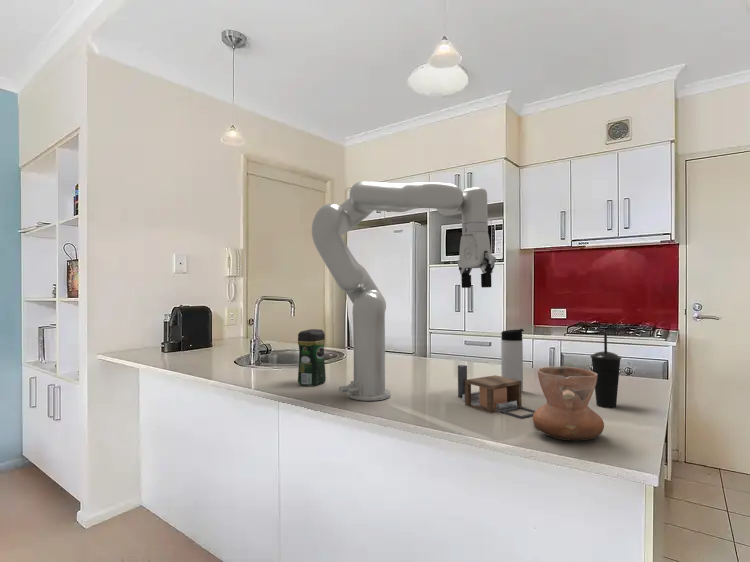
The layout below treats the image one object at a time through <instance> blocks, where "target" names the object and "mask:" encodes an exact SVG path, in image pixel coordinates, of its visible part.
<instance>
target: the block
mask: <svg viewBox="0 0 750 562" xmlns="http://www.w3.org/2000/svg"><path fill="white" fill-rule="evenodd" d="M478 387H479V405H483V406H486V407H487V388H484V387H480V386H478ZM502 402H507V387H500V388H495V389H493V409H495V408H496V404H497V403H502Z"/></svg>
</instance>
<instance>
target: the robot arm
mask: <svg viewBox="0 0 750 562" xmlns="http://www.w3.org/2000/svg"><path fill="white" fill-rule="evenodd" d="M414 209H434V210H435V209H436V211H437V212H438V213H439V214H441V215H442V216H445V217H446V216H447V217H449V216H455V215H460V214H461V231H462V232H461V234H462V235H461V236H460V243H459V252H458V253H459V257H458V258H459V259H458V260H457V266H458V270H459V272H460V275H461V278H460V279H461V288H462V289H466V288H467V289H468V288H469V289H471V288H472V274H470V273H471V272H472V270H473V269H480V271H481V272H482V273H481V274H480V283H481V285H480V286H481V288H492V274H493V272H494V271H493V270H494V268H495V264H496V263H495V262H496V261H497V260H496V259H497V258H496V256H495V255H493V254H492V251H491V244H490V243H491V242H490V235H489V221H488V219H489V218H488V212H489V211H488V192H487V190H486V189H485V188H482V187H469V188H466V189H463V190H462V189H461V188H460V186H457V185H456V184H453V183H445V182H432V181H431V182H430V181H429V182H409V183H396V182H394V183H393V182H379V181H364V180H363V181H358V182H355V183H354V184H353V185H352V186H351V188H350V191H349V198H348V199H346V200H344V202H343V203H341V204H340V205H338V204H336V203H326V204H324V205H323V206H321V207H320V208H319V209H318V210H317V212H316V214H315V215H314V218H313V220H312V224H311V235H312V240H313V244H314V247H315V248H316V250H317V252H318V254H319V256H320V257H321V258H322V261H323V262H324V264H325V266H326V267H327V269H328V271H329V272H330V274H331V275H332V277H333V279H334V281H335V282H336V284H337V286H338V288H339V289H340V290H342V291H344V292H345V294H346V295H347V297H348V298H349V300H350V302H351V304H352V328H353V329H352V331H353V380H352V381H351V380H350V382H349V384H348V385H340V386H339V387H338V391H339V393H340V394H342V393H347V394H348V397H349V398H350V399H352V400H355V401H365V402H369V401H370V402H373V401H382V400H386V399H389V398H390V397H391V391H390V390H388V389H386V325H385V324H386V321H385V320H386V309H387V303H386V300H385V297H384V296H383V294H382V292H381V290H379V288H378V286H377V284H376V283H375V282H374V280H373V279H372V277H371V275H370V274H369V272H368V271H367V269H366V268H365V267H364V266H363V265H362V264H360V263H359V262H358V261H357V260H356V258H355V256H354V255H353V254H352V252H351V250H350V249H349V247H348V244H347V243H346V242H345V241H344V239H343V237H342V235H345V234H347V233H348V232H350V231H351V230H352V229H353V228H355V227H356V226H357V225H358V224H360V223H361V222H363V220H365V219H366V218H367V217H369V216H370V214H372V213H373V212H375V211H379V212H390V213H392V212H393V213H406V212H408V211H412V210H414Z"/></svg>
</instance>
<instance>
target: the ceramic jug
mask: <svg viewBox="0 0 750 562" xmlns="http://www.w3.org/2000/svg"><path fill="white" fill-rule="evenodd" d="M537 376H538V381H539V385H540V388H541V390H542V393H543V396H544V397H545V400H546V403H544V404H543V405H541V406H540V407H538V408H536V410H535V412H534V414H533V416H532V422H533V424H534V426H535V428H537V429H538V431H540V432H541V433H542V434H544V435H546V436H549V437H551V438H555V439H558V440H563V441H571V442H572V441H587V440H591V439H594V438H596V437H597V438H598V436H600V435H601V434H602V433H603V431H604V429H605V423H604V420H603V418H602V417H601V416H600V415H599V414H598V413H597V412H596V411H594V410H592V409H591V407H589V406H588V405H589V403H590V401H591V399H592V396H593V394H594V392H595V386H596V382H597V376H598V375H597V373H595V372H593V370H589V369H585V368H582V367H572V366H564V365H560V366H559V365H558V366H555V365H554V366H553V365H551V366H544V367H539V368H538V369H537Z"/></svg>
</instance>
